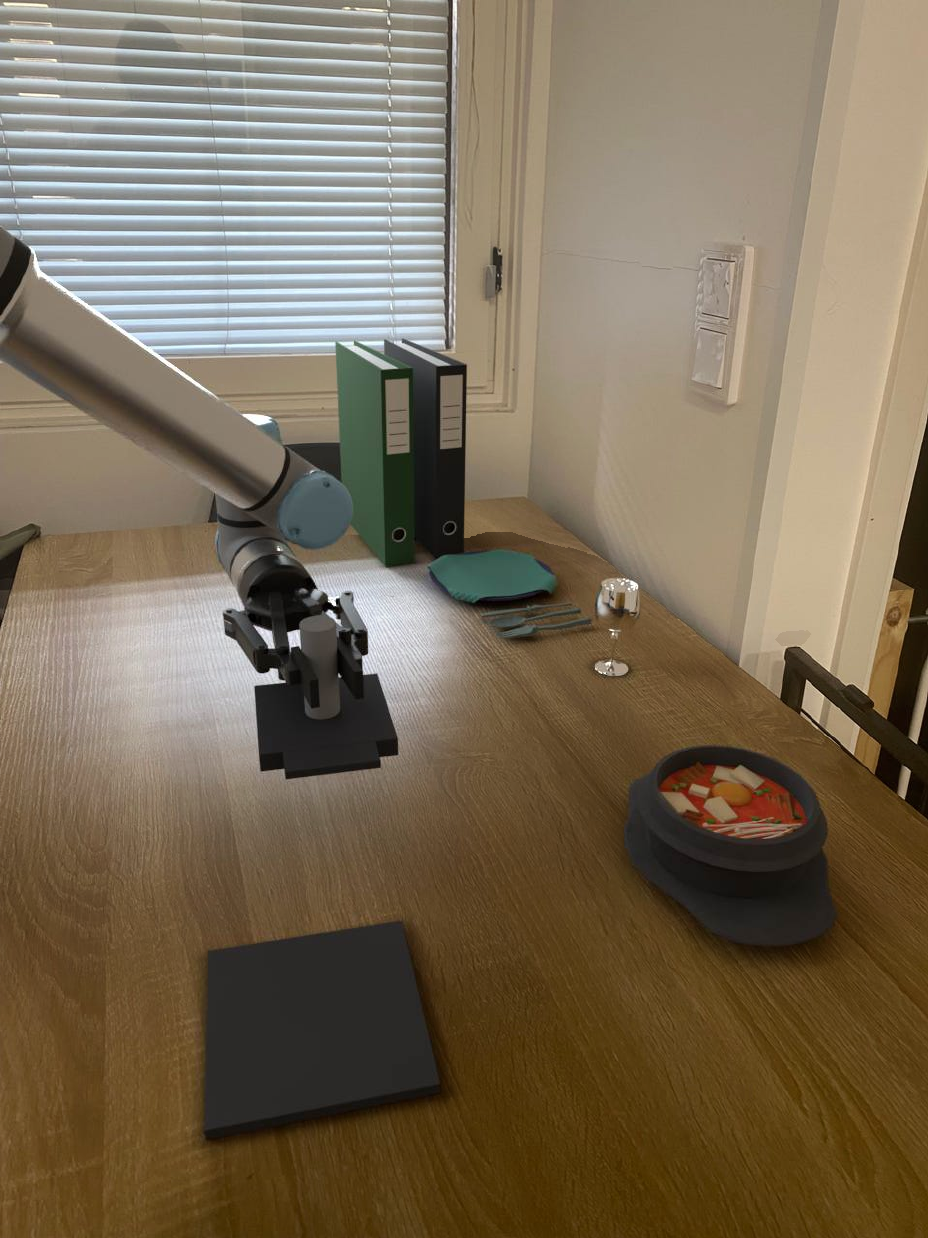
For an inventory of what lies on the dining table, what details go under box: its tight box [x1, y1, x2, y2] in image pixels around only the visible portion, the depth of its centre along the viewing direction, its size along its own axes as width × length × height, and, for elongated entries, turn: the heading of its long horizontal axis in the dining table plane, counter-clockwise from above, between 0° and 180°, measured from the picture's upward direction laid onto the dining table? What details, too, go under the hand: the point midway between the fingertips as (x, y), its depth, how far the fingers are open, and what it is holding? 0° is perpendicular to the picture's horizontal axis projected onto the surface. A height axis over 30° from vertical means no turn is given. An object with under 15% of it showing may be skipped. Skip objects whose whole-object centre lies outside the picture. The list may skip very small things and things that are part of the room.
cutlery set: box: [427, 548, 593, 639], centre depth 140 cm, size 20×30×2 cm, turn 19°
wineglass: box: [594, 577, 641, 677], centre depth 118 cm, size 6×6×12 cm
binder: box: [335, 338, 468, 568], centre depth 157 cm, size 27×15×32 cm, turn 23°
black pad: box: [203, 919, 441, 1141], centre depth 69 cm, size 16×16×1 cm
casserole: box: [623, 744, 838, 947], centre depth 84 cm, size 25×19×8 cm
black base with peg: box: [253, 616, 399, 780], centre depth 81 cm, size 12×15×11 cm
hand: (337, 689), depth 77 cm, fingers closed on black base with peg, 3 cm apart
